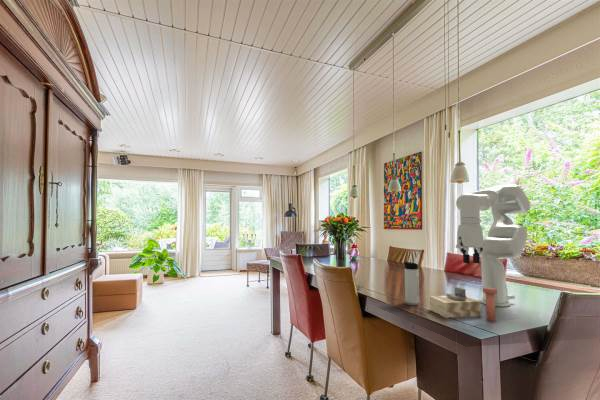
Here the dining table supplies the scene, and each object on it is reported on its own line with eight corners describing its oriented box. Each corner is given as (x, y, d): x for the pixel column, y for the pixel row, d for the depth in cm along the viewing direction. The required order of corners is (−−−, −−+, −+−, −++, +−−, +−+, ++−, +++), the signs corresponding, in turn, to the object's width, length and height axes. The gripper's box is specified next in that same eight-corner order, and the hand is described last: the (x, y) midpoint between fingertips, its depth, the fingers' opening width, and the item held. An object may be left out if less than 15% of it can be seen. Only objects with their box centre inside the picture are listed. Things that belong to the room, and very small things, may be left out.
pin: (491, 318, 121) (490, 287, 122) (501, 322, 116) (499, 289, 117) (481, 318, 120) (479, 287, 121) (490, 322, 115) (489, 290, 116)
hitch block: (462, 308, 134) (462, 294, 135) (480, 316, 124) (480, 301, 124) (430, 309, 132) (429, 296, 133) (445, 317, 121) (445, 302, 122)
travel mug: (402, 302, 145) (401, 260, 146) (415, 301, 145) (414, 260, 147) (408, 305, 139) (407, 262, 140) (421, 305, 139) (420, 262, 141)
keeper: (457, 295, 132) (456, 286, 132) (466, 299, 126) (466, 289, 126) (446, 296, 131) (446, 286, 131) (455, 299, 125) (455, 289, 125)
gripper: (480, 221, 137) (482, 261, 136) (447, 221, 135) (448, 262, 133) (493, 221, 129) (495, 264, 128) (458, 221, 127) (460, 264, 126)
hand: (471, 262), depth 131 cm, fingers open, 4 cm apart
